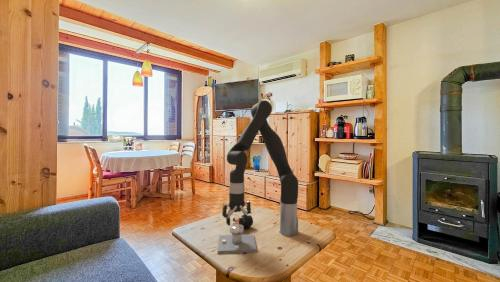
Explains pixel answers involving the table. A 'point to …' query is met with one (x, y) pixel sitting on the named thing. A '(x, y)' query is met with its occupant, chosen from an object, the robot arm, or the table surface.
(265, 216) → the table surface
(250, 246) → the base
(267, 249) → the table surface
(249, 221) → the end cap
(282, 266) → the table surface
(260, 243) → the table surface
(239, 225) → the lock knob
